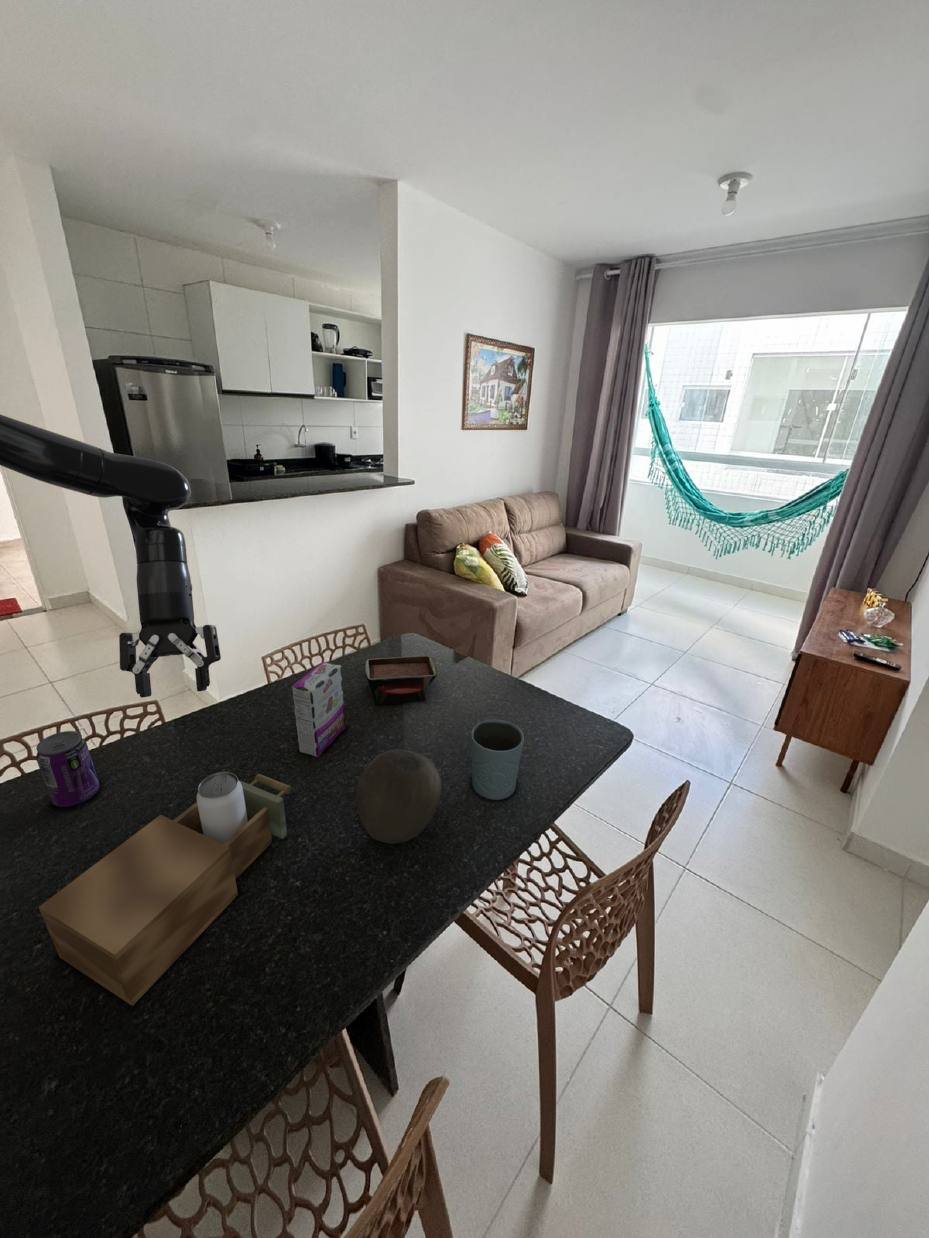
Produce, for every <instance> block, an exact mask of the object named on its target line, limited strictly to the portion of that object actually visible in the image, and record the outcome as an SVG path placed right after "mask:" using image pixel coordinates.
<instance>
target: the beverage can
mask: <svg viewBox="0 0 929 1238" xmlns="http://www.w3.org/2000/svg"><path fill="white" fill-rule="evenodd" d="M36 751H37V752H36V754H35V759H36V762H37V765H38V768H39V771H40V774H41V776H42V779H43V782H44V785H45V788H46V790H47V793H48V796H49V799H50V802H51V803H52V805H54V806H56V807H61V808H64V807H73V806H76V805H79V804H81V803H83V802H86V801H88V800H89V799H90V798H92V797H93V796H94V795H96V794H97V792H98V791H99V789H100V782H99V778H98V775H97V772H96V769H95V766H94V762H93V760H92V759H93V758H92V756H91V752H90V749H89V746H88V743H87V741H86V739H84V738H83V737H82V735H81V733H79V732H78V731H75V730H64V731H59V732H55V733H54V734H51V735H49V736H47V737H45V738H43V739H41V741H39V742H38V743H37V745H36Z"/></svg>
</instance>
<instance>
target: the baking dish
mask: <svg viewBox="0 0 929 1238" xmlns="http://www.w3.org/2000/svg"><path fill="white" fill-rule="evenodd" d="M363 666H364V676H365V678H366V681H367V683H368V686H369V688H370V690H371V693H372V695H373V698H374V701H375V703H376V705H377V706H391V705H400V704H409V703H417V702H424V701H426V700H427V698H426V694H427V691H428V688H429V686H430V685H431V683H432V682H433V681H434V680H435V679H436V678H437V677H438V670H437V664H436V663H435V661H434V659H433V658H432V657H431V656H430V655H428V654H427V655H412V656H411V655H410V656H394V657H380V658H379V657H376V658H368V659H366V661H365V662H364V665H363Z"/></svg>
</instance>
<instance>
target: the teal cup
mask: <svg viewBox="0 0 929 1238" xmlns="http://www.w3.org/2000/svg"><path fill="white" fill-rule="evenodd" d="M470 741H471V744H470V746H471V748H470V749H471V751H470V752H471V777H472V779H471V780H472V781H471V784H472V788H473V790H474V792H475V793H476V794H478V795H479V796H481V797H482V798H485V799H489V800H493V801H500V800H505V799H507V798H509V797H510V796H512V795H513V793H514V792H515V790H516V786H517V777H518V772H519V766H520V761H521V756H522V753H523V747H524V741H525V736H524V733H523V730H522V729H521V728H520V727H519V726H518V725H516V724H514V723H512V722H510V721H508V720H503V719H486V720H482V721H480V722H478V723H477V724H475V725H474V726H473V728H471V732H470Z"/></svg>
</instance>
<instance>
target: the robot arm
mask: <svg viewBox="0 0 929 1238" xmlns="http://www.w3.org/2000/svg"><path fill="white" fill-rule="evenodd" d="M0 466H1V467H3V468H6V469H9V470H11V471H13V472H16V473H18V474H21V475H23V476H25V477H29V478H30V479H31V478H32V479H33V480H37V481H40V482H43V483H45V484H48V485H51V486H55V487H58V488H61V489H65V490H68V491H72V492H75V493H80V494H83V495H87V496H90V497H96V498H101V499H102V498H103V499H107V498H114V497H121V499H122V506H123V510H124V513H125V516H126V519H127V522H128V525H129V528H130V530H131V532H132V535H133V537H134V541H135V543H134V544H135V545H134V546H135V558H136V559H135V560H136V590H137V591H136V592H137V601H138V612H139V614H138V615H139V622H140V626H141V628H140V631H139V632H135V633H133V632H121V633H119V637H118V640H119V641H118V642H119V644H118V645H119V646H118V647H119V648H118V649H119V669H120V671H122V672H128V673H132V674H133V675H134V685H135V692H136V694H137V695H139V697H140V698H148V697H151V696H152V684H151V673H150V672H148V671H149V670H150V669H151V667H152V666H153V664H154V663H155V662H156V661H157V660H158V659H159V658H160V657H161V658H162V657H163V658H164V657H171V656H181V655H183V656H185V657H186V658H188V659H190V660H191V662H192V663H193V664H194V665H195V666H196V668H194V673H195V683H196V684H195V685H196V692H204V691H205V692H206V691H207V690H208V687H210V685H211V678H210V666H211V665H212V664H214V663H216V662H219V661H221V658H222V656H221V649H220V643H219V637H218V631H217V627H216V626H215V625H214V624H205V625H202V626H196V624H195V612H194V599H193V584H192V578H191V574H190V570H189V565H188V554H187V543H186V538H185V534H184V533H183V532H182V530H181V529H179V528H177V527H173V526H172V525H171V522H170V518H169V512H172V511H176V510H177V509H180V508H182V507H184V505H186V503H187V502H188V501H189V500H190V497H191V493H192V491H191V486H190V483H189V481H188V479H187V478H186V476H185V475H184V474H183V473H182V472H181V471H179V470H178V469H176V468H175V467H173V466H171V465H169V464H167V463H164V462H161V461H157V460H153V459H150V458H145V457H139V456H134V455H128V454H121V453H117V452H116V453H115V452H111V451H108V450H105V449H103V448H100V447H98V446H95V445H91V444H90V443H86V442H83V441H81V440H78V439H75V438H71V437H69V436H66V435H63V434H60V433H58V432H54V431H51V430H49V429H46V428H42V427H40V426H36V425H33V424H30V423H27V422H24V421H20V420H18V419H15V418H12V417H9V416H7V415H4V414H1V413H0ZM198 635H199V637H200V638H201V640H204V647H205V654H206V655H205V654H204V653H202V652H203V651H202V650H201V649H200V648H199V647H198V646H197V645H196V644H195V640H196V639H197V637H198ZM139 642H141V643H142V644H143V645H144V646H145V647H144V648H143V650H142V651H141V652H140V654H139V656H138V659H137V646H138V645H139Z"/></svg>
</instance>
